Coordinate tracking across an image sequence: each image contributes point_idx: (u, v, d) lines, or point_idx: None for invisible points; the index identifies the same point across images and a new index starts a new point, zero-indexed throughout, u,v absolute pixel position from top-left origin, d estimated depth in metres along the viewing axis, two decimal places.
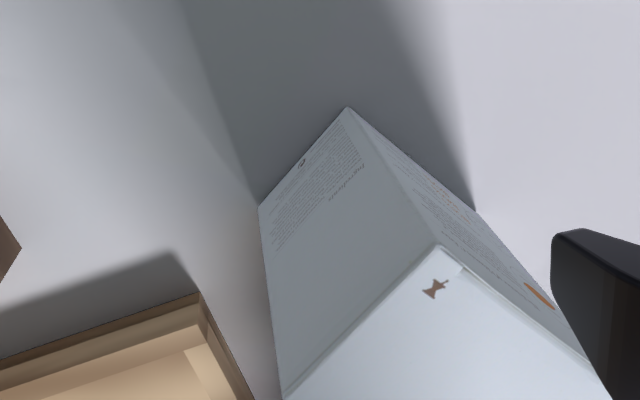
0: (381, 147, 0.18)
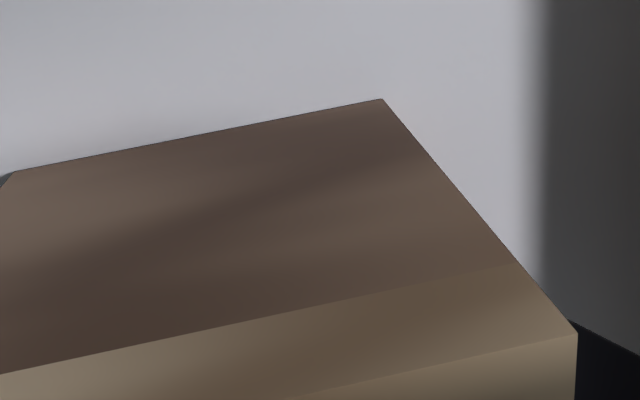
0: None
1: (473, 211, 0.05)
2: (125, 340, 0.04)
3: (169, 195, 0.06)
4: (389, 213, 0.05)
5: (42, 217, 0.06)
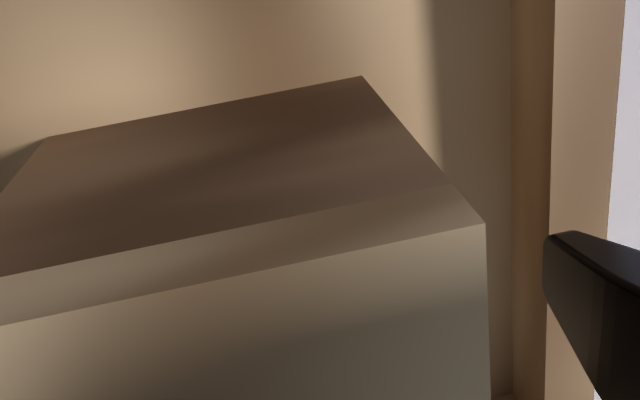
0: None
1: (425, 153, 0.06)
2: (154, 240, 0.05)
3: (182, 149, 0.07)
4: (358, 156, 0.06)
5: (77, 168, 0.07)
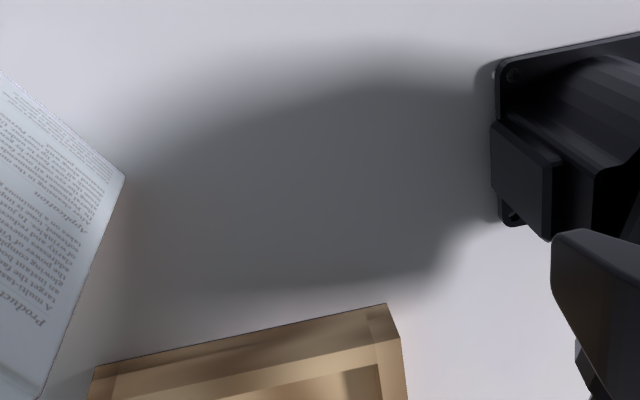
0: None
1: None
2: None
3: None
4: None
5: None
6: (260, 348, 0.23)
